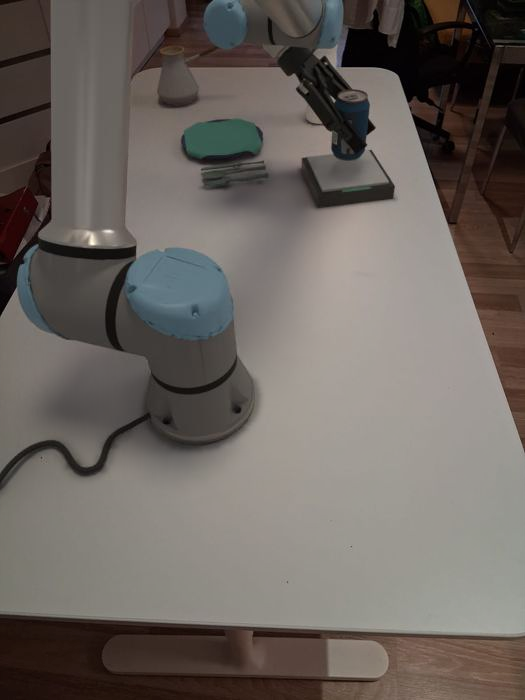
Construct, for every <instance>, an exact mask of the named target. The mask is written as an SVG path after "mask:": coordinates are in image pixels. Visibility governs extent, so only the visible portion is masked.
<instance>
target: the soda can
mask: <svg viewBox="0 0 525 700" xmlns="http://www.w3.org/2000/svg"><path fill="white" fill-rule="evenodd" d="M368 97H369V95H368V93H367V92H366V91H364V90H361V89H357V88H355V89H354V88H352V89H348V90H343V91H341V92H339V93H338V96H337V99H336V100H334V103H335V105H336V107H337V109H338V110H339V112H340V114H341V116H342V117H343V119H344V120H345V119H347V120H348V121H349V122H350V124H351V125H352V126H353V127H354V129H355V130H356V131H357V132H358V134H359V135H360V136H361V137H362V139H363V140H364V141H365V142H366V143H367V136H368V135H367V127H368V118H369V119H370V117H369V116H370V107H371V104H370V101H369V99H368ZM330 150H331V152H332V154H334V156H335V157H336V158H337V159H339V160H343V161H354V160H357V159H359V158H360V157H361V155H362V154H363V153H364V151H365V150H366V147H365V148H364V149H362V150H361V151H360V152H358V153H357V154H355V153H354V151H353V150H352V149H351V148H350V146H349V145H348V144H347V143H346V142H345V140H344V139H343V138H342V137H341V135H340V134H339V133H338V132H337V131H336V129H334V130H333V131H332V132H331V145H330Z"/></svg>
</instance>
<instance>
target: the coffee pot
mask: <svg viewBox="0 0 525 700" xmlns="http://www.w3.org/2000/svg"><path fill="white" fill-rule="evenodd" d="M218 49H219V47H218V46H216V45H215V44H213V45H211V46H209V47H207V48H206V49H204V50H202V51H201V52H199V53H197V54H195V55H193V56H190V57H188V58H186V59H185V58H184V53H185V48H184V47H183V46H181V45H168V46H165V47H163V48H161V49H159V53H160V55H162V59H163V60H162V61H163V62H162V66H161V69H160V70H161V71H160V75H159V80H158V85H157V88H156V89H157V90H156V93H157V95H158V97H159V98H160V99H161V100H162V101H164V102H165V103H166V104H167V105H169V106H174V107H175V106H177V107H179V106H185V105H189V104H191V103H192V102H193V101H194V99H195V98H196V97H197V95H198V94H199V90H200V87H199V84H198V83H197V81H196V79H195V77H194V75H193V74H192V71H191V70H190V67H189V65H188V64H189V63H191V62H193V61H194V60H197V59H198V58H200V57H203V56H206V55H208V54H210V53H211V54H212V53H214V52H215V51H216V50H218Z"/></svg>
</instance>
